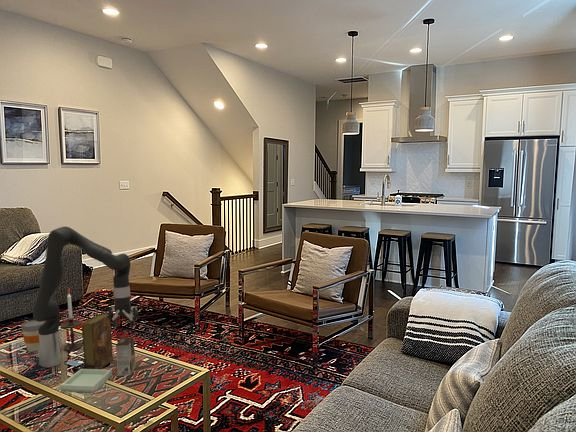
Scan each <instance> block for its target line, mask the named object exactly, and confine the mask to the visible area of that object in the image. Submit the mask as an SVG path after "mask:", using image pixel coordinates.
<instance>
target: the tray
mask: <svg viewBox="0 0 576 432" xmlns="http://www.w3.org/2000/svg"><path fill="white" fill-rule="evenodd" d="M112 377H113V370H112V369H85V368H80V369H78V370H77V371H76V372H75V373H74V374H72V375H71V376H69V378H67V379H66V380H65V381H63V382H62V383H61V384H60V386H59V387H60V388H59V389H60V392H67V393H68V392H71V393H72V392H74V393H90V394H91V393H92V394H94V393H95V392H97V390H98V389H100V388H101V387H102V386H103V385H104V384H106V382H107V381H108V380H109V379H110V378H112Z"/></svg>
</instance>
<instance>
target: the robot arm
mask: <svg viewBox="0 0 576 432" xmlns="http://www.w3.org/2000/svg"><path fill="white" fill-rule="evenodd" d="M47 236H48V237H47V241H46V243H47V244H46V246H47V247H46V255H45V259H44V260H45V261H44V265H43V270H42V274H41V281H40V285H39V288H38V293H37V296H36V299H35V302H34V304H33V308H32V317H33V320H36V321H38V322H42V321H45V323H44V324H43V325H42V326H40V327H39V329H38V333H39V344H40V347H39V348H38V351H37V352H38V365H39V367H41V368H53V367H56V366H59V365H60V364H61V363H62V353H61V341H60V340H61V339H60V325H61V324H60V323H61V319H60V316H61V315H60V306H59V304H58V302H57V301H56V300H55V299H51V298H52V296H53V295H54V293H55V292H56V291H57V289H59V287H60V286H61V284H62V282H63V278H64V273H65V268H64V264H63V262H62V254H63V249H64V247H66V246H68V245H73V246H77V247H79V248H80V249H81V250H82V251H83V252H84V253H85V254H86V255H87V256H88V257H89V258H91V259H94V260H95V261H98V262H101V263H102V264H103V265H105V267H107V268H108V269H110V270H112V271H116V273H115V275H114V276H113V277H112V278H113V304H114V306H113V305H111V306H109V307H108V309H107V311H108V318H109V319H110V320H112V327H113V328H117V327H119V326H118V317H121V316H123V317H126V318H128V319H129V320H130V321H129V325H130V329H133V328H135V326H136V322H135V321H136V320H137V319H138V318H139V312H138V311H139V310H138V306H137V305H135V306H131V303H132V299H131V288H130V279H129V275H130V271H131V259H130V257H129V256H128V254H125V253H121V254H117V255H115V254H113V252H112V250H111V249H109V248H107V247H105V246H103V245H101V244H98V243H96V242H94V241H93V240H90V239H88V238H87V237H85V236H84V235H82V234H80V233H79V232H78V231H77V230H74V229H73V228H71V227H69V226H60V227H58V228H55V229H53V230H51V231H50V233H48V235H47ZM114 312H115V313H114Z"/></svg>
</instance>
